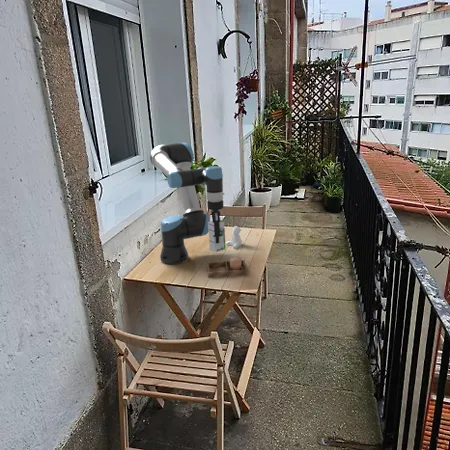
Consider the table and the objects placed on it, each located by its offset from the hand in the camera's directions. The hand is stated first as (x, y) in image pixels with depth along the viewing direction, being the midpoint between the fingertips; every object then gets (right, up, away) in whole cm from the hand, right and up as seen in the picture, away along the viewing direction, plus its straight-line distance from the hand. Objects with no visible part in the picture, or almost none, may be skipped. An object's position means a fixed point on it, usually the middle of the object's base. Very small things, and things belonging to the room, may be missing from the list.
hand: (217, 245), depth 183 cm
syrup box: (0, -2, +1) cm, 2 cm away
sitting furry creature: (+10, -2, +39) cm, 40 cm away
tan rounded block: (+9, -13, +5) cm, 17 cm away
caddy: (+5, -14, +5) cm, 16 cm away
